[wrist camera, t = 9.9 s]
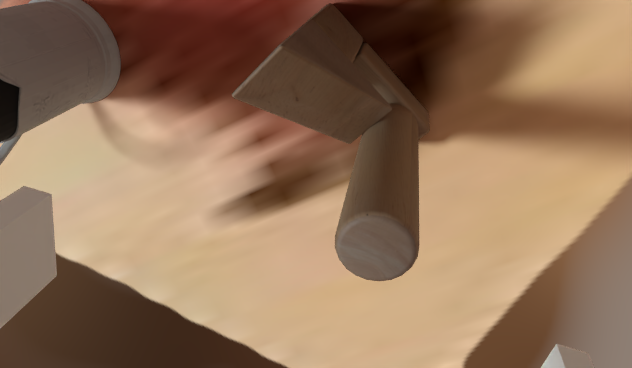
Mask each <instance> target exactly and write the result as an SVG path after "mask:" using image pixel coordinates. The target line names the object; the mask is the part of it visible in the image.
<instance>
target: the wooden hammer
mask: <svg viewBox="0 0 632 368" xmlns="http://www.w3.org/2000/svg"><path fill="white" fill-rule="evenodd" d="M362 42H363V38H362V36H361V35H360V34H359V33H358V32H357V31H356V30H355V28H354V27H353V26H352V25H351V24H350V23H349V22H348V20H347V19H346V18H345V17H344V16H343V15H342V14H341V13H340V11H339V10H338V9H337V8H336V7H335V6H334V5H333V4H331V3H330V4H328V5H326V6H325V7H324V8H322V9H321V10H320V11H319V12H318V13H316V14H315V15H314V16H313V17H311V18H310V19H309V20H308V21H307V22H306V23H305V24H304V25H302V26H301V27H300V28H299V29H298V30H296V31H295V32H294V33H293V34H292V35H290V36H289V37H288V38H287V39H286V40H284V41H283V42H282V43H281V44H280V45H279V46H278V47H277V48H276V49H275V50H274V51H273V52H272V53H271V54H270V55H269V56H268V57H267V58H266V59H265V60H264V61H263V62H262V63H261V64H260V65H259V66H258V67H257V68H256V69H255V70H254V71H253V72H252V73H251V75H250V76H249V77H248V78H247V79H246V80H245V81H244V82H243V83H242V84H241V85H240V86H239V87H238V88H237V89H236V90H235V91H234V92H233V93H232V97H233V98H235V99H237V100H240V101H242V102H245V103H248V104H250V105H253V106H255V107H258V108H260V109H263V110H265V111H268V112H270V113H273V114H275V115H278V116H280V117H283V118H285V119H288V120H290V121H293V122H295V123H298V124H300V125H303V126H305V127H308V128H310V129H313V130H315V131H318V132H320V133H323V134H325V135H328V136H331V137H333V138H336V139H338V140H341V141H343V142H346V143H348V144H349V143H352V142H353V141H354V140H355V139H356V138H358V137H359V136H360V135H361V134H362V137H361V141H360V144H359V148H358V152H357V156H356V159H355V163H354V167H353V171H352V174H351V178H350V182H349V186H348V189H347V193H346V197H345V201H344V204H343V208H342V212H341V216H340V219H339V223H338V227H337V231H336V235H335V249H336V251H337V254H338V257H339V259H340V261H341V262H342V263H343V265H344V266H345V267H346V269H348V270H349V271H351V272H352V273H353V274H355V275H356V276H359V277H361V278H364V279H367V280H373V281H385V280H392V279H394V278H397V277H399V276H401V275H403V274H404V273H405V272H406V271H408V270H409V269H410V268H411V267H412V265H413V264H414V262H415V260H416V259H417V257H418V251H419V160H418V140H419V139H420V138H421V137H423V136H424V135H425V134H427V133H428V132H429V130H430V126H429V114H428V111H427V110H426V109H425V108H424V107H423V106H422V105H421V104H420V102H419V101H418V100H417V99H416V98H415V97H414V96H413V94H412V93H411V92H410V91H409V90H408V89H407V88H406V86H405V85H404V84H403V83H402V82H401V81H400V80H399V79H398V77H397V76H396V75H395V74H394V73H393V72H392V71H391V69H390V68H389V67H388V66H387V65H386V64H385V63H384V61H383V60H382V59H381V58H380V57H379V56H378V55H377V54H376V52H375V51H374V50H373V49H372V48H371V47H370V46H369V44H367V43H363V44H362Z"/></svg>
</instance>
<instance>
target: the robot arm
mask: <svg viewBox="0 0 632 368" xmlns="http://www.w3.org/2000/svg"><path fill="white" fill-rule="evenodd" d="M56 276H57V270H56V255H55V240H54V225H53V210H52V195H51V194H49V193H46V192H43V191H39V190H36V189H32V188H29V187H26V186H23V187H22V188H20V189H18V190H17V191H15V192H14V193H12V194H10V195H9V196H7V197H6V198H4V199H2V200H1V201H0V328H1V327H2V326H3V325H4V324H6V323H7V322H8V321H9V320H10V319H11V318H12V317H13V316H14V315H15V314H16V313H17V312H18V311H19V310H20V309H22V307H24V306H25V305H26V304H27V303H28V302H29V301H30V300H31V299H32V298H33V297H34V296H35V295H36V294H37V293H39V292H40V291H41V290H42V289H43V288H44V287H45V286H46V285H47V284H48V283H49V282H50V281H51V280H52V279H53V278H55V277H56ZM541 368H594V366H593V363H592V361H591V358H590V356H589V354H588V353H586V352H583V351H580V350H576V349H573V348H570V347H566V346H563V345H559V344H556V345H555V347H554V349H553V350H552V352H551V353H550V355H549V356H548V358H547V359H546V361H545V362H544V364H543V365H542V367H541Z"/></svg>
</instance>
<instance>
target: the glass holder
mask: <svg viewBox="0 0 632 368" xmlns="http://www.w3.org/2000/svg"><path fill="white" fill-rule="evenodd" d="M120 70H121V59H120V53H119V48H118V45H117V42H116V39H115V37H114V35H113V33H112V31H111V29H110V28H109V26H108V25H107V23H106V22H105V21H104V19H103V18H102V17H101V16H100V15H99V13H97V12H96V11H95V10H94V9H93V8H92V7H91V6H89V5H88V4H86V3H85V2H83V1H82V0H32V1H30V2H29V3H28V4H24V5H18V6H13V7H8V8H2V9H0V143H3V142H4V143H3V145H2V146H1V147H0V165H1V163H2V162H3V161H4V159H5V158H6V157H7V155H8V154H9V153H10V151H11V150H12V148H13V147H14V145H15V144H16V143H17V141H18V140H19V138H20V137H21V135H22V134H23V133H25V132H27V131H29V130H31V129H33V128H35V127H37V126H38V125H40V124H42V123H44V122H46V121H48V120H50V119H52V118H54V117H56V116H58V115H60V114H62V113H64V112H66V111H68V110H69V109H71V108H73V107H75V106H77V105H79V104H81V103H83V104H84V103H93V102H96V101H100V100H101V99H103V98H105V97H107V96H108V95H109V94H110V93H111V92H112V91H113V89H114V88H115V86H116V84H117V82H118V79H119V75H120Z"/></svg>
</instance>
